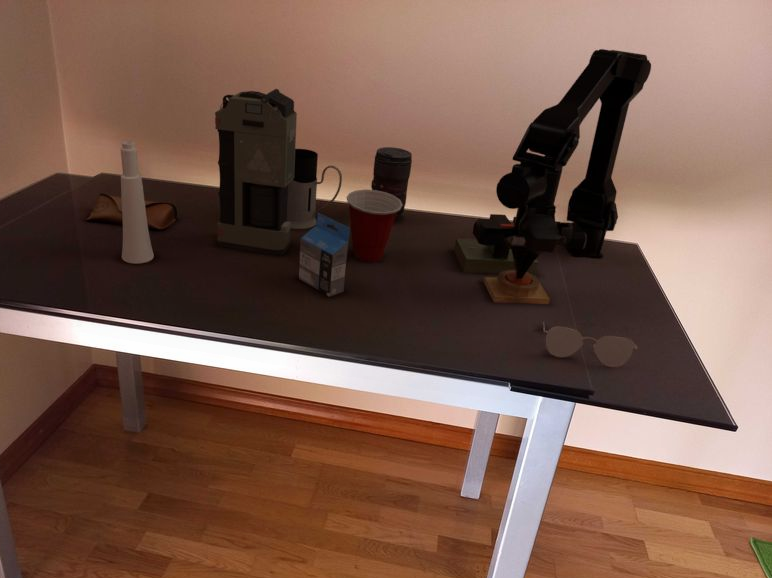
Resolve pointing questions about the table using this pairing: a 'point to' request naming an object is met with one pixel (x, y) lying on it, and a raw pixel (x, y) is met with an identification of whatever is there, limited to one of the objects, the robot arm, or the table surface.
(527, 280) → the button
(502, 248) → the selector
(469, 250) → the panel
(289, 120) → the device
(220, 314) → the table surface
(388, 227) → the plastic cup
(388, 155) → the camera lens
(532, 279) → the button block
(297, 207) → the glass holder
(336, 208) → the table surface
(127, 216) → the cosmetic bottle
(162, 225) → the sunglasses case
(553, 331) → the sunglasses
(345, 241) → the ink cartridge box
